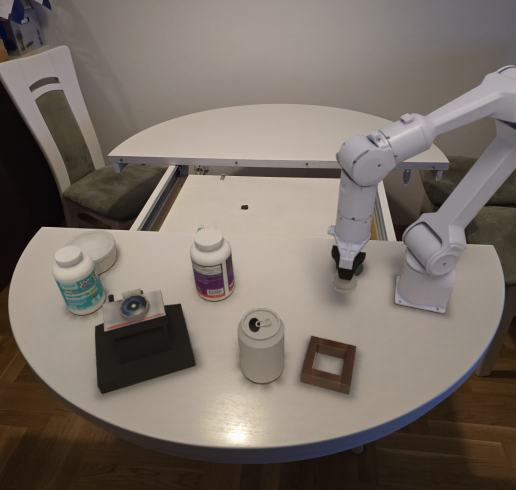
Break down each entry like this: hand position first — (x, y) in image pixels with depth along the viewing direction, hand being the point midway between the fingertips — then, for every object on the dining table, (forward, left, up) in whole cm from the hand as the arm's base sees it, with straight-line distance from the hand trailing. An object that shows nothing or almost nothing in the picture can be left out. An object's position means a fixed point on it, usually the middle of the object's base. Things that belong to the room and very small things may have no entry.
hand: (346, 271), depth 73 cm
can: (+11, +17, -11) cm, 23 cm away
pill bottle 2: (+26, +2, -11) cm, 28 cm away
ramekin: (+56, +2, -11) cm, 57 cm away
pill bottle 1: (+50, +13, -11) cm, 53 cm away
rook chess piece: (0, 0, -4) cm, 4 cm away
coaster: (0, -13, -10) cm, 16 cm away
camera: (+33, +19, -11) cm, 39 cm away
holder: (0, +14, -10) cm, 17 cm away
